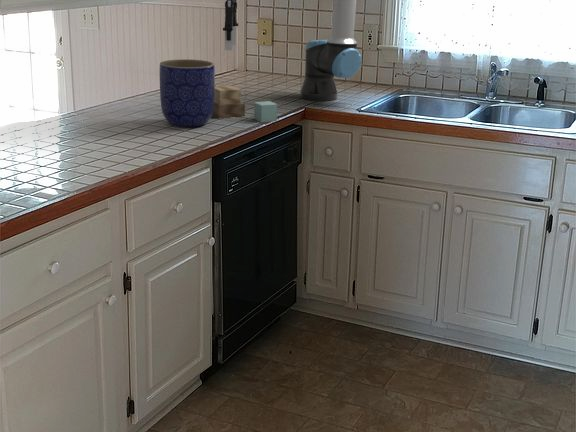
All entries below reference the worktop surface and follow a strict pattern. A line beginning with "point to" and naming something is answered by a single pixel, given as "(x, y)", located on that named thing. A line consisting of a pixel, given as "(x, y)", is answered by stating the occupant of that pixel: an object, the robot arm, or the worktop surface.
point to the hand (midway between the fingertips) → (230, 47)
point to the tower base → (228, 110)
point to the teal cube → (265, 111)
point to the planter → (187, 91)
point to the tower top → (227, 95)
